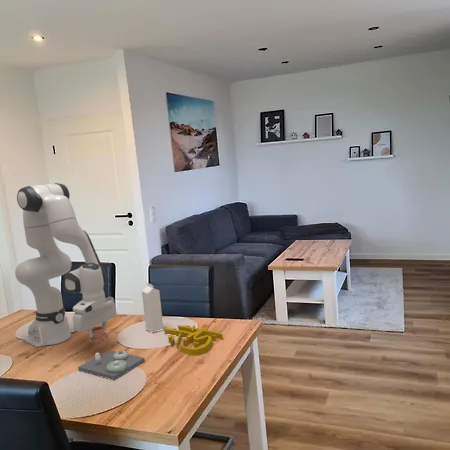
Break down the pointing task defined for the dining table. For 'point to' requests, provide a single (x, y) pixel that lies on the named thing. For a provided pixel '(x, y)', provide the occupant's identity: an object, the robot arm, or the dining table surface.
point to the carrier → (111, 364)
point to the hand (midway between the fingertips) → (97, 334)
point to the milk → (152, 308)
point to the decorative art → (193, 338)
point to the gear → (98, 335)
